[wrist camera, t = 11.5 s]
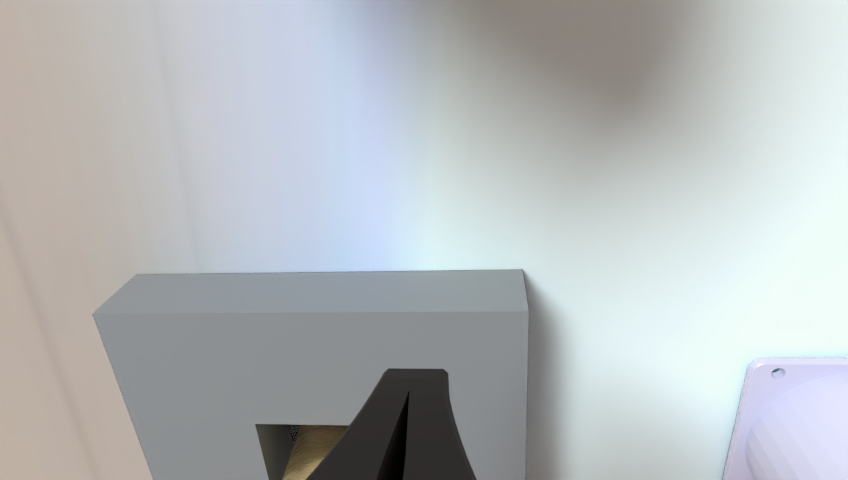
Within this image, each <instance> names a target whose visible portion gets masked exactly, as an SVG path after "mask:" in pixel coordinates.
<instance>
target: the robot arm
mask: <svg viewBox="0 0 848 480" xmlns="http://www.w3.org/2000/svg"><path fill="white" fill-rule="evenodd" d="M777 368H780V369H779V370H778V371H776V372H772V371H773V370H775V369H777ZM305 480H477V479H476V477H475V475H474V472H473V470H472V467H471V465H470V462H469V460H468V457H467V455H466V452H465V449H464V447H463V444H462V441H461V438H460V435H459V432H458V429H457V425H456V422H455V419H454V415H453V411H452V407H451V402H450V394H449V376H448V372H446V371H445V370H444V369H401V368H388V369H387V370H386V371H385V372H384V373H383V375H382V377H381V378H380V380H379V382H378V383H377V385H376V387H375V388H374V390H373V392H372V393H371V395H370V396H369V398H368V399H367V401H366V402H365V404H364V405H363V407H362V408H361V410H360V411H359V413H358V414H357V415H356V417H355V418H354V420H353V421H352V422H351V424H350V425H349V427H348V428H347V429H346V431H345V432H344V434H343V435H342V436H341V437H340V439H339V440H338V441H337V443H336V444H335V445H334V446H333V447H332V449H331V450H330V451H329V452H328V454H327V455H326V456H325V457H324V459H323V460H322V461H321V462H320V463H319V465H318V466H317V467H316V468H315V469H314V470H313V472H312V473H311V474H310V475H309V476H308V477H307V478H306V479H305ZM722 480H848V358H758V359H756V360H754V361H752V362H751V363H750V364H749V366H748V369H747V373H746V377H745V382H744V386H743V391H742V395H741V399H740V404H739V408H738V413H737V417H736V422H735V426H734V430H733V435H732V439H731V444H730V448H729V452H728V457H727V461H726V466H725V470H724V475H723V479H722Z"/></svg>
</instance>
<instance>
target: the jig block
mask: <svg viewBox="0 0 848 480" xmlns="http://www.w3.org/2000/svg"><path fill="white" fill-rule="evenodd" d="M92 315H93V317H94V320H95V323H96V325H97V328H98V331H99V334H100V336H101V339H102V342H103V344H104V347H105V350H106V353H107V355H108V358H109V361H110V363H111V366H112V369H113V372H114V374H115V377H116V380H117V382H118V385H119V388H120V391H121V393H122V396H123V399H124V402H125V404H126V407H127V410H128V412H129V415H130V418H131V421H132V423H133V426H134V429H135V431H136V434H137V437H138V440H139V442H140V445H141V448H142V450H143V453H144V456H145V459H146V461H147V464H148V467H149V469H150V472H151V475H152V478H153V480H282V478H283V475H284V472H285V469H286V467H287V464H288V461H289V458H290V455H291V452H292V449H293V446H294V444H293V440H292V435H291V430H290V426H289V424H292V425H350V424H351V422H352V421H353V420H354V418H355V417H356V415H357V414H358V413H359V411H360V410H361V408H362V407H363V405H364V404H365V402H366V401H367V399H368V398H369V396H370V395H371V393H372V392H373V390H374V388H375V387H376V385H377V383H378V382H379V380H380V378H381V377H382V375H383V373H384V372H385V371H386V370H387V369H388V368H401V369H444V370H445V371H446V372H448V376H449V394H450V402H451V407H452V411H453V415H454V419H455V422H456V425H457V429H458V432H459V435H460V438H461V441H462V444H463V447H464V449H465V452H466V455H467V457H468V460H469V462H470V465H471V467H472V470H473V472H474V475H475V477H476V479H477V480H525V472H526V424H527V375H528V327H529V309H528V303H527V296H526V289H525V282H524V276H523V270H450V271H374V272H298V273H222V274H146V275H135V276H134V277H133V278H132V279H131V280H130V281H129V282H127V283H126V284H125V285H124V286H123V287H122V288H121V289H120V290H118V291H117V292H116V293H115V294H114V295H113V296H112V297H110V298H109V299H108V300H107V301H106V302H105V303H104V304H103V305H101V306H100V307H99V308H98V309H97V310H96V311H95V312H94V313H92Z"/></svg>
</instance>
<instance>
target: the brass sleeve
mask: <svg viewBox="0 0 848 480" xmlns="http://www.w3.org/2000/svg"><path fill="white" fill-rule="evenodd" d="M348 427H349V425H300V428H299V431H298V434H297V437H296V440H295V443H294V446H293V449H292V452H291V455H290V458H289V461H288V464H287V467H286V469H285V472H284V475H283V478H282V480H305V479H306V478H307V477H308V476H309V475H310V474H311V473H312V472H313V470H314V469H315V468H316V467H317V466H318V465H319V463H320V462H321V461H322V460H323V459H324V457H325V456H326V455H327V454H328V452H329V451H330V450H331V449H332V447H333V446H334V445H335V444H336V443H337V441H338V440H339V439H340V437H341V436H342V435H343V434H344V432H345V431H346V429H347V428H348Z"/></svg>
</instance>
